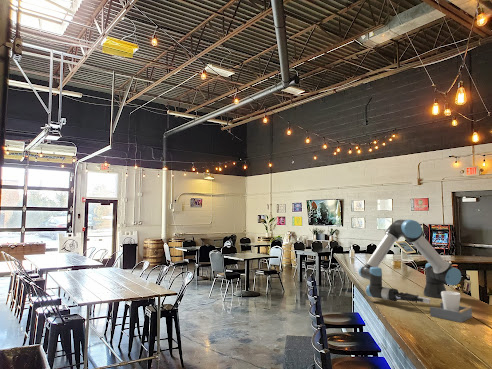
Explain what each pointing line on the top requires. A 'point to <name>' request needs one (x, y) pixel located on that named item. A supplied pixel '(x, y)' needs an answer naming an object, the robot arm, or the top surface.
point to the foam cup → (451, 300)
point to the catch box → (452, 313)
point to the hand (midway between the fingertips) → (429, 301)
